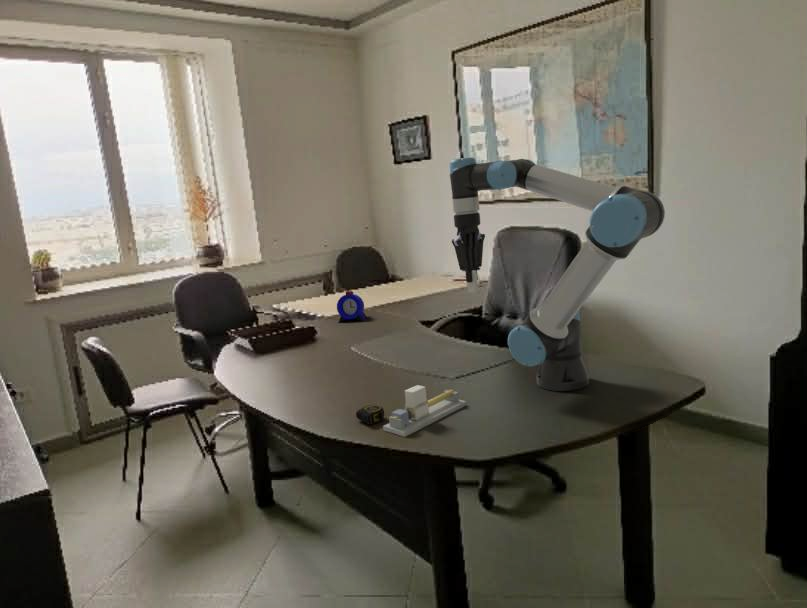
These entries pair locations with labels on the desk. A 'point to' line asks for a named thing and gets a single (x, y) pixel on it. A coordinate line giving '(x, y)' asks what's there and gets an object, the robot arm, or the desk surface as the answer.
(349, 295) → the alarm clock
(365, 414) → the tape measure
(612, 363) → the desk surface
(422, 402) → the white rectangular block
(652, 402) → the desk surface
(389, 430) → the threaded rod slide
